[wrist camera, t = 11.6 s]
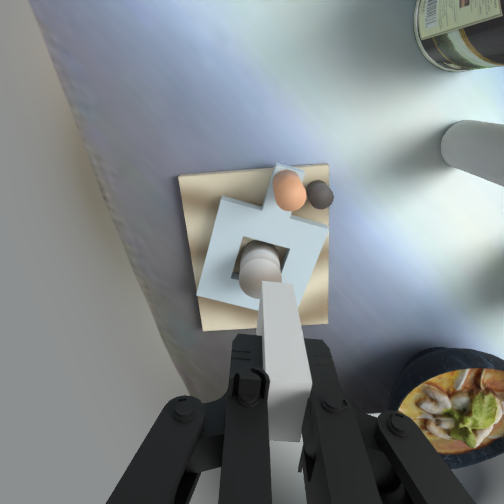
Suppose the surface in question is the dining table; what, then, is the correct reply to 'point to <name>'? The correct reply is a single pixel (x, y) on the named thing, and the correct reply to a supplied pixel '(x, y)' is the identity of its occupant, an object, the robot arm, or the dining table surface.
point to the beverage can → (476, 149)
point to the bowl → (455, 402)
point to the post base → (252, 193)
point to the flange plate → (263, 238)
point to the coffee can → (461, 33)
